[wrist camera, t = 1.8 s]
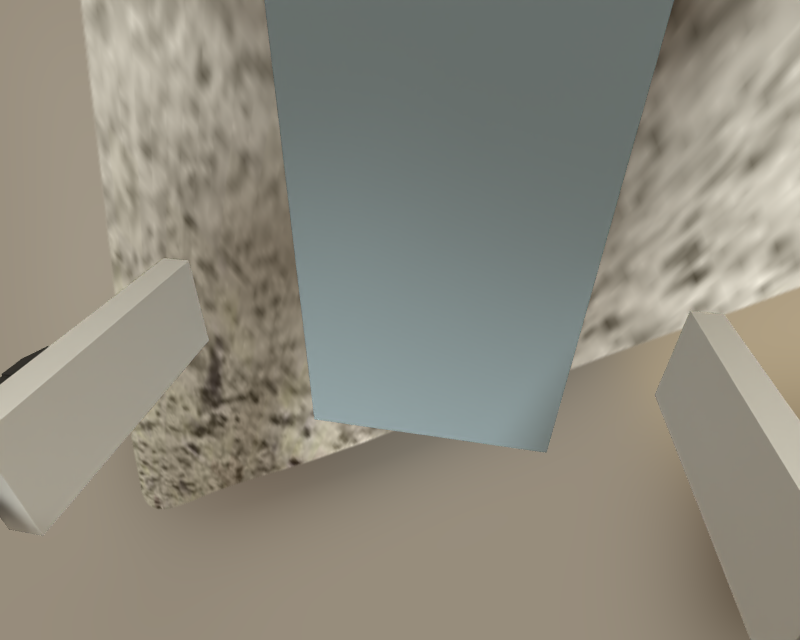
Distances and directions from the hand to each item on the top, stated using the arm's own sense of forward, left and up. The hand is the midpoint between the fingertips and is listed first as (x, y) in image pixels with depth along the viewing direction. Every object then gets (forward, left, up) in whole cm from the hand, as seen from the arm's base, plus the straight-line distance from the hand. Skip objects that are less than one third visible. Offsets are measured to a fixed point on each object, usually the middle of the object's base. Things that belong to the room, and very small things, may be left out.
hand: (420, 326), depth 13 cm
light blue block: (0, 0, -10) cm, 10 cm away
